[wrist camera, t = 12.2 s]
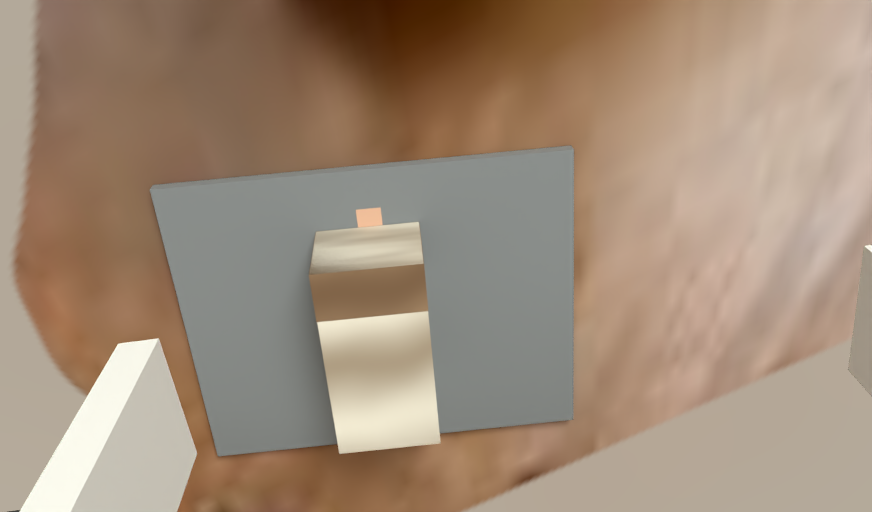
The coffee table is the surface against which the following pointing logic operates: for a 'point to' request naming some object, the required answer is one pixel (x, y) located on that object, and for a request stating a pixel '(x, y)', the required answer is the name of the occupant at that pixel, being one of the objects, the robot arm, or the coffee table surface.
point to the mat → (445, 282)
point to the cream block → (375, 336)
